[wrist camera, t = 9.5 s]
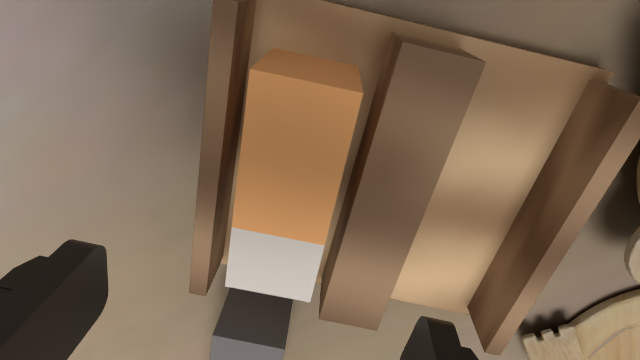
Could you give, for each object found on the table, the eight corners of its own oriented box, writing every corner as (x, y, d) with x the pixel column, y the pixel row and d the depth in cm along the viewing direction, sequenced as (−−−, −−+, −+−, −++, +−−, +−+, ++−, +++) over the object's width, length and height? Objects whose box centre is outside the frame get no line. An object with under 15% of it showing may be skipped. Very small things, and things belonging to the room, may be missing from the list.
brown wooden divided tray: (243, -20, 16) (215, -21, 12) (600, 67, 16) (670, 90, 13) (213, 249, 22) (188, 300, 18) (471, 303, 23) (495, 362, 19)
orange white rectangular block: (272, 47, 16) (249, 68, 12) (358, 66, 16) (363, 93, 12) (248, 225, 20) (224, 286, 16) (316, 239, 20) (310, 302, 16)
